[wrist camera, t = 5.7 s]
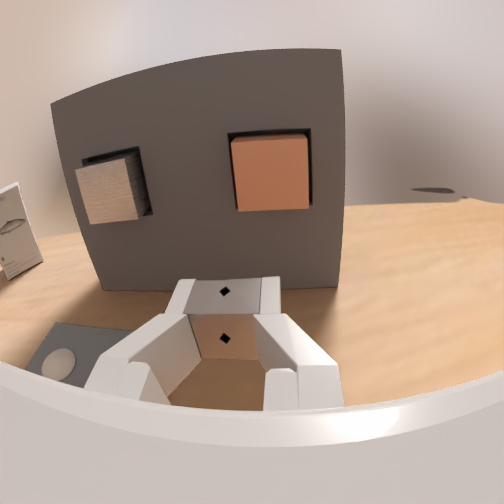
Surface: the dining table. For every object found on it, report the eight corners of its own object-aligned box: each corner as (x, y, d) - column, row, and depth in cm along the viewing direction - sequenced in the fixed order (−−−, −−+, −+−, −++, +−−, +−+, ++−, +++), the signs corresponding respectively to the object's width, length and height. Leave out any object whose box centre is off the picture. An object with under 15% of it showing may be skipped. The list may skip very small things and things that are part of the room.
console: (337, 286, 26) (340, 49, 16) (103, 290, 28) (50, 103, 18) (328, 252, 31) (326, 58, 21) (125, 260, 33) (86, 97, 23)
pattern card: (149, 450, 13) (145, 447, 13) (11, 401, 15) (7, 397, 15) (182, 337, 22) (181, 332, 22) (57, 325, 23) (55, 320, 23)
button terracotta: (308, 208, 20) (307, 138, 18) (238, 211, 21) (230, 143, 18) (304, 194, 23) (302, 133, 20) (242, 197, 23) (236, 136, 21)
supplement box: (8, 282, 31) (-24, 205, 25) (7, 265, 36) (-19, 198, 29) (45, 261, 35) (17, 183, 29) (40, 247, 40) (17, 179, 34)
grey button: (138, 219, 22) (124, 158, 19) (90, 224, 22) (74, 169, 20) (152, 204, 24) (140, 149, 22) (106, 210, 25) (93, 160, 22)
